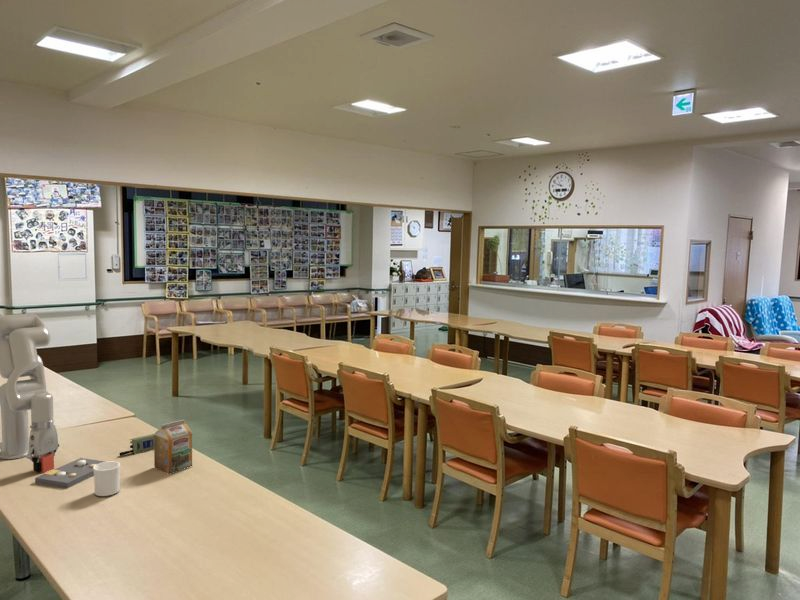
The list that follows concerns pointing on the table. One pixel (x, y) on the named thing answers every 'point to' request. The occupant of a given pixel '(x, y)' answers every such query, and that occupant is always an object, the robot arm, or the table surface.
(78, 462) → the white egg
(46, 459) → the cap
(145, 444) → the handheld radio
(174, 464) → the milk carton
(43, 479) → the panel
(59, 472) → the cream egg in tray
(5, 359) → the robot arm
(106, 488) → the mug
